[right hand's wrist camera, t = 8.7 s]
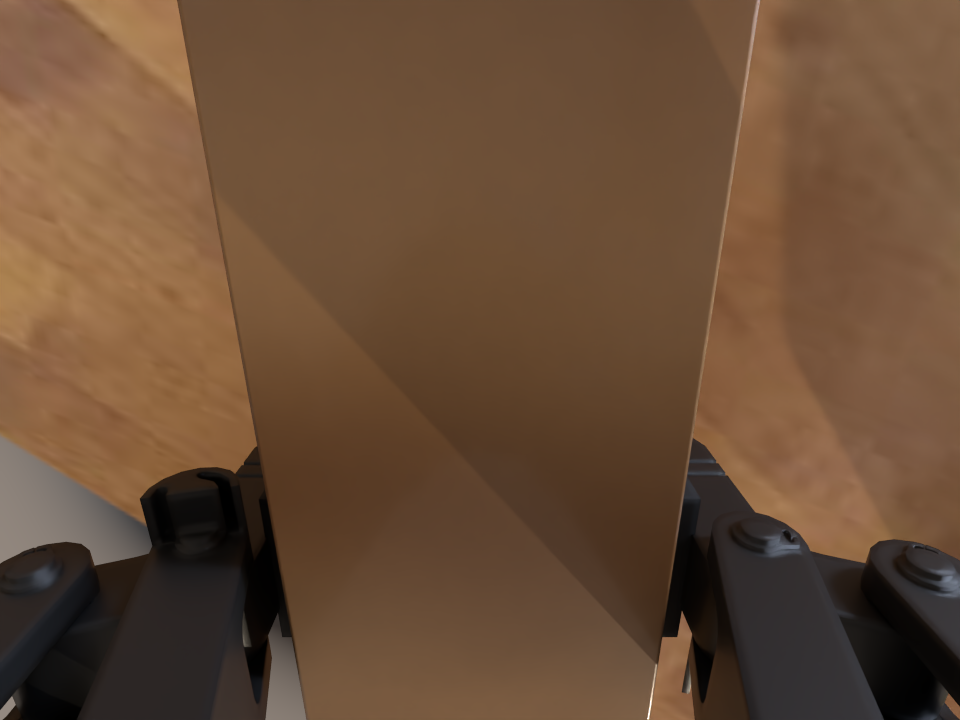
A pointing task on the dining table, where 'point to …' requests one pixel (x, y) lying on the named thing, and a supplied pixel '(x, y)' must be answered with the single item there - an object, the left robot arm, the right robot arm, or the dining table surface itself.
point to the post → (472, 328)
